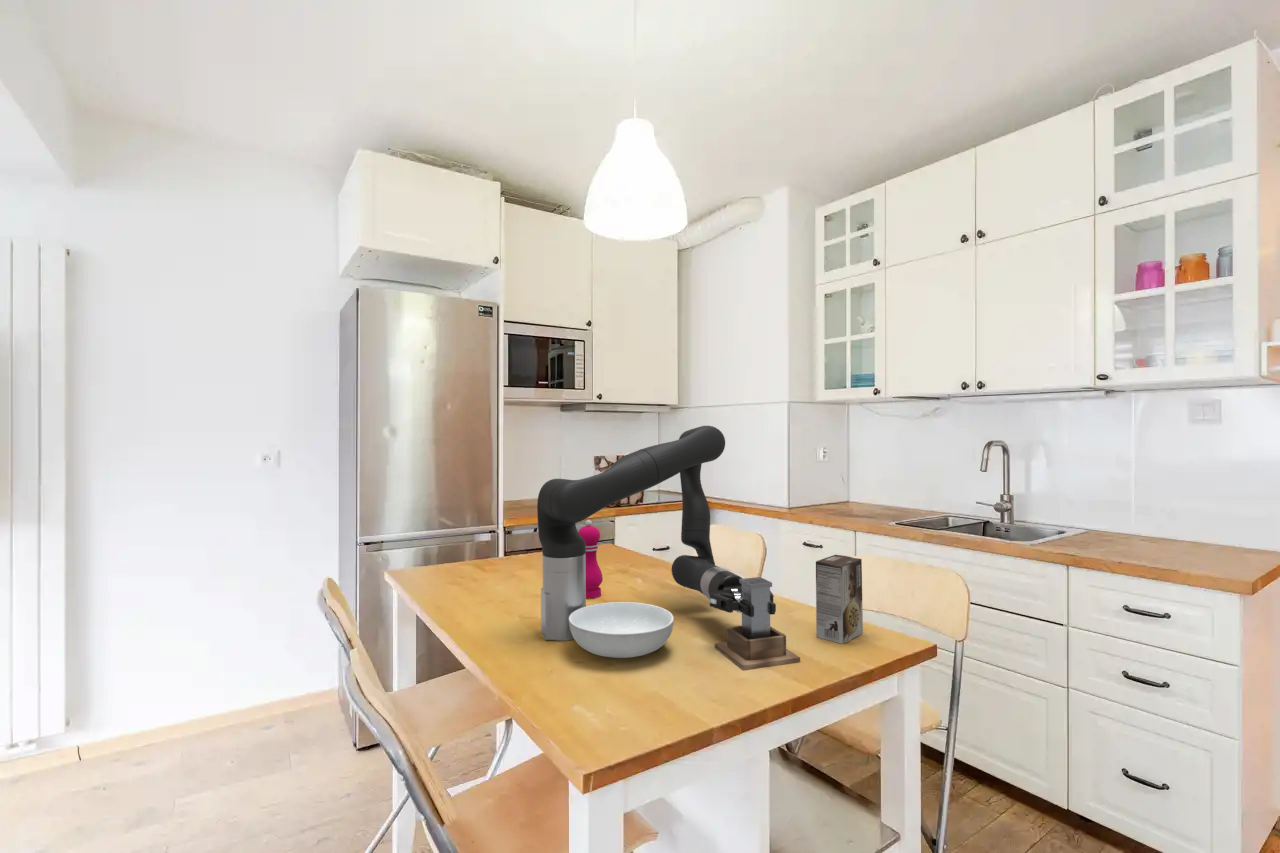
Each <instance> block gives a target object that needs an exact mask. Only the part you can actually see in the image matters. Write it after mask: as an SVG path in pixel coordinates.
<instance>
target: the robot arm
mask: <svg viewBox="0 0 1280 853" xmlns="http://www.w3.org/2000/svg"><path fill="white" fill-rule="evenodd" d="M725 448H726V437H725V434H723V432H722V431H721V430H720V429H719V428H717V427H715V426H713V425H702V426H701V425H700V426H698V427H694V428H691V429H688V430H686V431H684V432H683V433H681V434H680V436H679V437H678V439H675V440H673V441H669V442H668V441H667V442H663V443H658V444H655V445H651V446H648V447H644V448H641V449H638V450H635V451H633V452H631V453H628V454H626V455H624V456H622V457H619V458H618V459H617V460H616V461H615V462H614V463H613V464H612V465H611V466H610V467H608V469H606V470H604V471H602V472H601V473H598V474H595V475H592V476H589V477H584V478H581V479H580V478H579V479H565V478H553V479H549V480H548V481H546V482H545V483H543V485H542V486H541V488H540V490H539V493H538V496H537V504H536V505H537V507H536V508H537V509H536V511H537V512H536V514H537V528H538V529H537V531H538V534H537V535H538V540H539V543H540V544H541V551H542V554H541V555H542V587H541V589H540V632H541V634H542V636H543V638H544V640H545V641H559V642H560V641H571V640H575V639H574V638H573V636H572V633H571V630H570V626H569V616H570V615H571V613H573V612H574V611H576V610H578V609H580V608H583V607H586V606H587V599H586V555H585V553H586V547H585V541H584V539H583V538H582V537H581V536H580V535H579V533H578V531H579V530H578V529H577V523H581V522H582V521H584V520H587V519H588V518H589V517H591V516H593V515H594V514H596V513H597V512H600V511H601V510H603V509H604V508H606V507H607V506H610V505H612V504H614V503H615V502H619V501H621V500H624V499H627V498H629V497H631V496H633V495H637V494H638V493H641V492H644V491H646V490H648V489H651V488H653V487H655V486H658V485H659V484H661V483H663V482H664V481H667V480H669V479H671V478H672V477H674V476H676V475H678V474H679V477H680V487H681V497H682V498H681V499H682V505H681V506H682V511H681V512H682V513H681V530H680V531H681V532H680V533H681V535H680V539H681V543H682V544H683V545H685V546H687V547H690V548H693V549H694V550H695V551H696V554H697V556H696V555H687V554H682V555H679V556H677V557H676V558H675V559H674V560H673V562H672V565H671V575H672V578H673V580H674V581H675V582H676V583H677V584H678V585H679V586H682V587H684V588H687V589H689V590H694V591H698V592H700V594H702V595H703V596H705V597H706V598H707V600H708V599H709V606H710V607H711V608H714V609H717V610H721V611H724V612H725V613H733V612H736V613H739V614H742V613H743V614H745V615H747V616H749V617H754V606H753V605H751V604H750V603H748V602H746V601H743V599H742V584H741V583H740V579H744V578H743V577H742V576H740V575H737V574H736V573H734V572H731V571H730V570H728V569H726V568H722V567H719V566H717V565H716V561H715V559H714V554H713V549H712V545H711V538H710V534H711V510H710V509H711V508H710V507H709V506H710V504H709V502H708V499H707V496H706V494H705V493H704V490H703V486H702V482H701V472H702V464H705V463H709V462H713V461H715V460H717V459H718V458H719V457H721V456H722V454H723V453H724V451H725ZM774 596H775V595H774V594H773V592H772V591H771V590H770V616H771V615H775V614H776V611H777V607H776V606H777V604H776V603H775V602H774Z"/></svg>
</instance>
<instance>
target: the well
mask: <svg viewBox="0 0 1280 853" xmlns="http://www.w3.org/2000/svg"><path fill="white" fill-rule="evenodd" d="M714 649H716V650H717V651H719V653H720V654H722V655H724V656H725V657H726V659H728V660H730V661H731V662H732V663H733V664H735V665H736V666H737V667H738V668H740V669H741V670H742V671H744V670H751V669H752V670H753V669H760V668H765V667H773V666H779V665H780V666H781V665H787V664H794V663H799V662H801V657H800V656H799V655H797V654H795V653H794V652H792V651H790V650H789V649H787V635H786V634H784V633H783V632H780V631H779V630H777V629H776V628H775V627H772V626H771V625H770V637H766V638H758V639H750V640H748V639H747V638H745V637H744V636H742V625H736V626H730V627H727V628H726V641H724V642H718V643H717V642H716V643H714Z"/></svg>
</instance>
